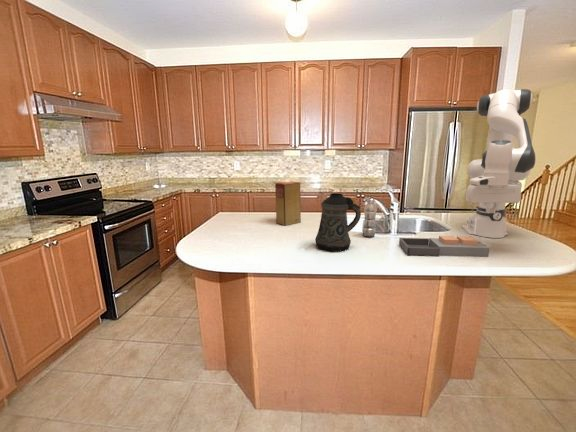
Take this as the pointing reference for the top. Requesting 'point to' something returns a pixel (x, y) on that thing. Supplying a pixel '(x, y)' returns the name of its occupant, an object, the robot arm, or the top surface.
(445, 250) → the plate
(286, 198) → the food packaging
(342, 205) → the beer stein
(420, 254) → the box
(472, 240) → the tile
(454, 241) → the tile
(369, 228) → the plastic bottle
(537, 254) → the top surface
